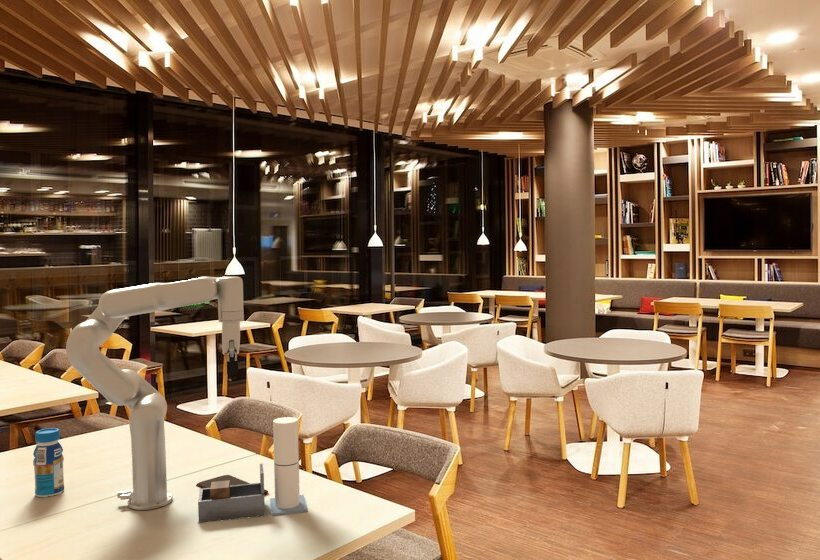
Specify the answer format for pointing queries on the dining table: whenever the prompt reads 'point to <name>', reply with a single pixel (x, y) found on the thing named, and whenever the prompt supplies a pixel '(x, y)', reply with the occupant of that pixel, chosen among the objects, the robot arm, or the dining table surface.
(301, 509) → the mat
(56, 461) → the beverage bottle
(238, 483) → the smartphone
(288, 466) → the cylindrical container
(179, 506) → the dining table surface
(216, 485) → the walnut offcut upper
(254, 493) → the rack
